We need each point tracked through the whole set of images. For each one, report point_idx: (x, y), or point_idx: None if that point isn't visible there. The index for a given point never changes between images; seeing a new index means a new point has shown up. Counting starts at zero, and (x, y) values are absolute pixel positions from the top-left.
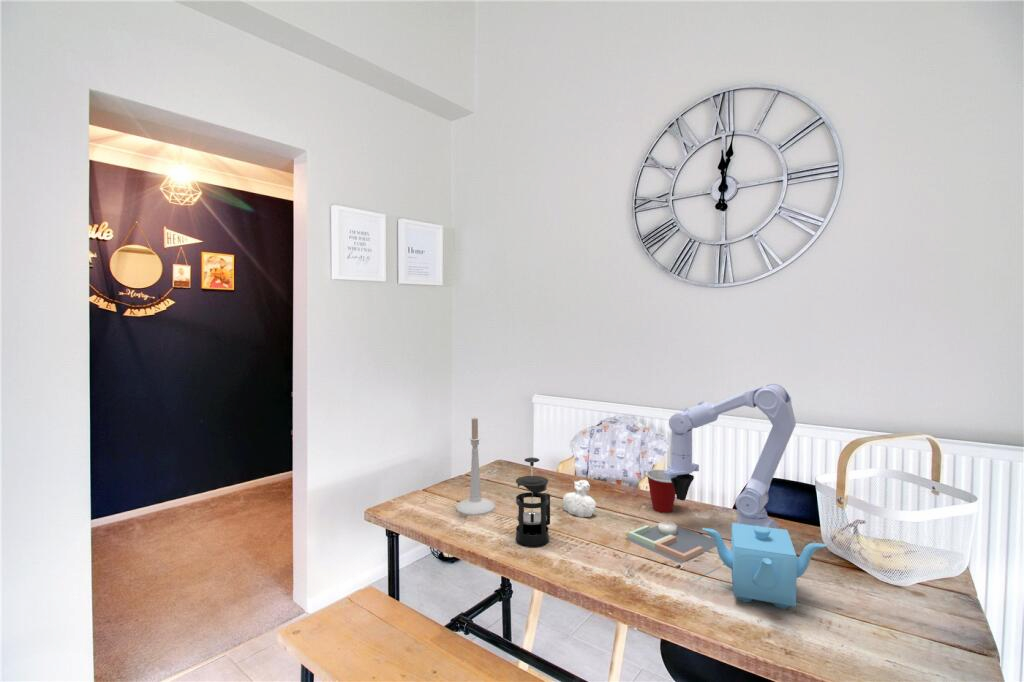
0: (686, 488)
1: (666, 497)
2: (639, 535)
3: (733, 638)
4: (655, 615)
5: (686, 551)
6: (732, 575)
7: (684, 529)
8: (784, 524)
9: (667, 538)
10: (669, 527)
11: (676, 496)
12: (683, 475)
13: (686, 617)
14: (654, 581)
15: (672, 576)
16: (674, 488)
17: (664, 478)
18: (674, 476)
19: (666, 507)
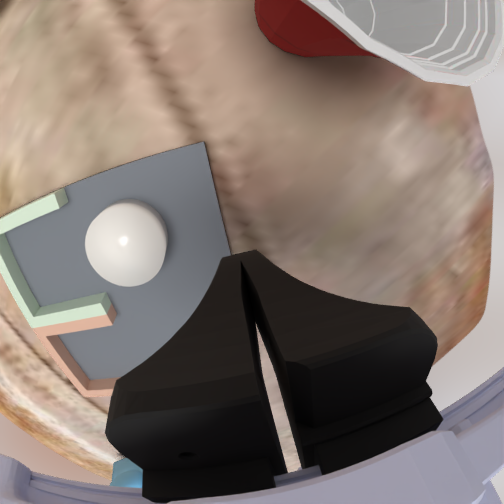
0: (277, 379)
1: (305, 41)
2: (4, 265)
3: (84, 464)
4: (14, 421)
5: (115, 362)
6: (132, 463)
7: (217, 243)
8: (473, 298)
9: (77, 321)
10: (116, 276)
11: (218, 265)
12: (315, 465)
13: (46, 438)
14: (19, 387)
15: (50, 394)
16: (201, 302)
17: (3, 463)
18: (125, 501)
19: (293, 49)
